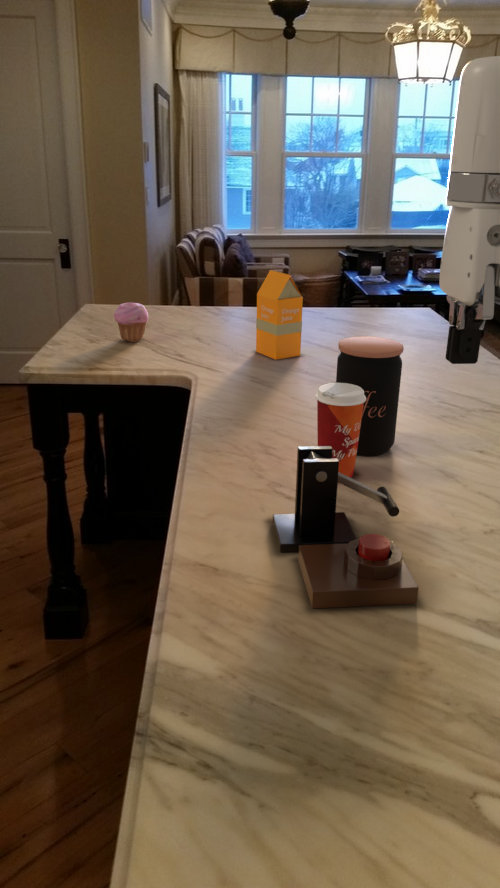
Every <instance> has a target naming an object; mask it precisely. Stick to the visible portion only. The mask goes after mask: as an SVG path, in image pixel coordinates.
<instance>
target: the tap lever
mask: <svg viewBox="0 0 500 888" xmlns="http://www.w3.org/2000/svg"><path fill="white" fill-rule="evenodd" d="M307 459H326V458H324V457H322V456H320V455H318V454H316V453H314V452H312V451H311V453H310V454H309V456H308V457H307ZM338 483H339V484H341V485H343V486H344V487H347V488H349V489H351V490H353V491H355V492H357V493H359V494H360V495H361V494H362V495H363V496H366V497H368V498H369V499H372V500H374V501H375V502H378V503H380V504H382V505H383V507H384V508H385V510H386V512H387V514H388V515H389V516H390V517H393V518H395V517H397V516H398V515H399V514H400V508H399V506H398V505H397V503H396V502H395V500H394V498H393V496H392V495H391V493H390V492H389V490H388V488H387V487H386V486H379V487H378V488H377V489H374V488H372V487H371V486H368V485H366V484H364V483H362V482H360V481H359V480H356V479H354V478H353V477H351V478H350V477H348V476H346V475H344V474H342V473H340V472H338Z"/></svg>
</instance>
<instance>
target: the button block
mask: <svg viewBox="0 0 500 888" xmlns="http://www.w3.org/2000/svg"><path fill="white" fill-rule="evenodd" d="M359 539H360V537H358V538H356V539H355V540H353V541H350V542H349V543H348V544H320V545H299V551H298V553H297V554H298V555H297V556H298V557H297V562H298V564H299V568H300V572H301V575H302V579H303V582H304V584H305V589H306V592H307V595H308V599H309V602H310V605H311V609H324V608H325V609H326V608H327V609H328V608H347V607H350V608H351V607H371V606H372V607H373V606H394V605H416V604H417V603H418V595H419V588H420V587H419V585H418V584H417V582H416V580H415V578H414V576H413V574H412V572H411V570H410V569H409V567H408V565H407V564H406V561H405V559H404V554H403V552H402V550H401V548H400V546H398V545H396V544H395V542H394V541H390V552H389V557H388V559H387V560H384V561H371V560H367V559H364V558H362V557H360V556H359V554H358V547H359Z"/></svg>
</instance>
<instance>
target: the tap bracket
mask: <svg viewBox="0 0 500 888" xmlns="http://www.w3.org/2000/svg"><path fill="white" fill-rule="evenodd" d="M332 450H333V449H332V447H331V446H318V445H315V446H314V445H310V446H308V445H307V446H297V454H296V455H297V458H296V475H295V477H296V479H295V500H294V501H295V502H294V513H275V514H272V525H273V529H274V533H275V536H276V537H275V538H276V541H277V546H278V549H279V552H280V553H291V552H292V553H294V552H296V553H297V552H298V553H299V545H320V544H348V543H349V542H350V541H353V540H355V539H357V537H356V534H355V532H354V530H353V528H352V526H351V523H350V521H349V519H348V517H347V515H346V512H345V511H338V512H337V498H338V497H337V496H338V483H339V482H338V471H339V460H338V458H332ZM311 451H312V452H314V453H316V454H318V455H320V456H322V457H324V458H326V459H307V457H308V456H309V454H310V453H311Z"/></svg>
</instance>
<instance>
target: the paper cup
mask: <svg viewBox="0 0 500 888" xmlns="http://www.w3.org/2000/svg"><path fill="white" fill-rule="evenodd" d="M317 389H318V390H317V392H316V394H315V395H314V398H315V399H316V404H317V405H316V406H317V407H316V410H317V411H316V412H317V414H316V415H317V416H316V417H317V421H316V422H317V426H316V427H317V429H316V430H317V446H331V447H332V449H333V450H332V458H338V460H339V471H338V472H340V473H342V474H344V475H346V476H348V477H350V478H353V476H354V474H355V473H354V472H355V467H356V460H357V455H356V454H357V447H358V440H359V433H360V426H361V419H362V412H363V405H364V402H365V401H366V396H365V395H364V390H363V389H362V388H361V387H359V386H357V385H353V384H348V383H336V382H328V383H324V384H322V385H320V386H319V387H318V388H317Z"/></svg>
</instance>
